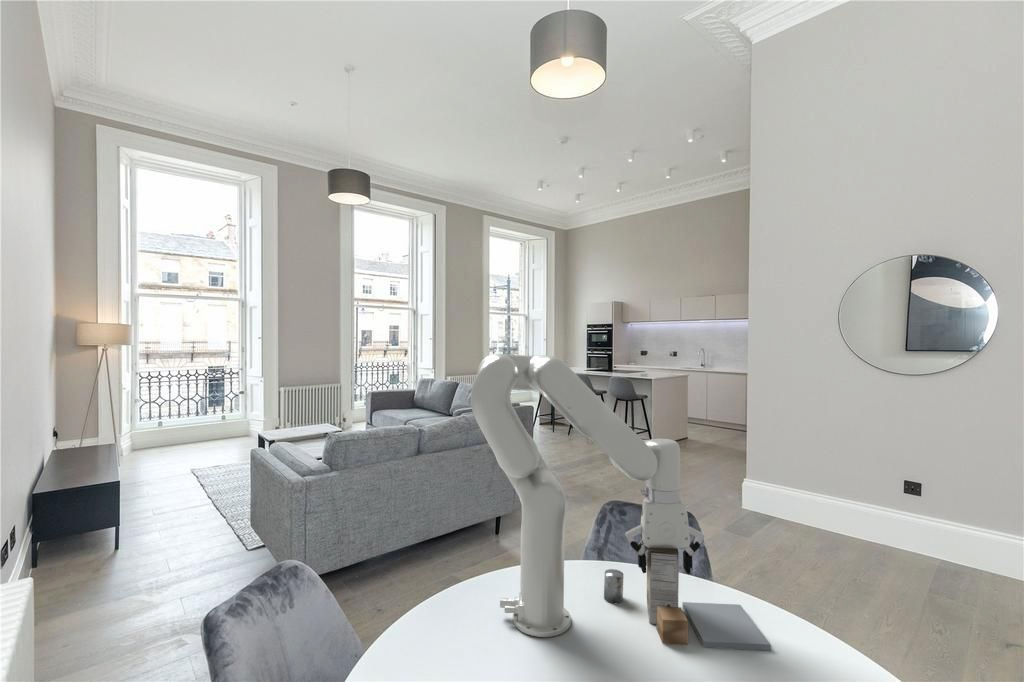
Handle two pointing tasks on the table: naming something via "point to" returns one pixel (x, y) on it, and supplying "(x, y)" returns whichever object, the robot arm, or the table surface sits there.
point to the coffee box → (662, 580)
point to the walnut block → (672, 625)
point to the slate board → (725, 626)
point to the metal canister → (613, 586)
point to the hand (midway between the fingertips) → (665, 570)
